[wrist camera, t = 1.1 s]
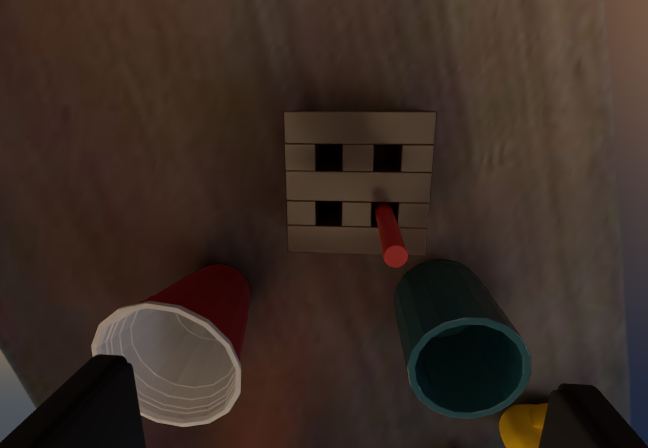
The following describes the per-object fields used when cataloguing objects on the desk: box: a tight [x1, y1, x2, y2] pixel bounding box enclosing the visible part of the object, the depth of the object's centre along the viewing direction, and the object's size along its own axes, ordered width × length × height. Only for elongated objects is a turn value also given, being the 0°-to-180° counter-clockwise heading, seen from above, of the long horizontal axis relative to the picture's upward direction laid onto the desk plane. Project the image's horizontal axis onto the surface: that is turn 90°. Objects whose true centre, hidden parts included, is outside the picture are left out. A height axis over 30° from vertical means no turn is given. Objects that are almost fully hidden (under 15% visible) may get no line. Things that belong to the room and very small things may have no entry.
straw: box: [373, 202, 408, 267], centre depth 26 cm, size 1×1×14 cm
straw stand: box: [283, 111, 437, 256], centre depth 30 cm, size 10×10×6 cm
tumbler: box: [394, 260, 531, 419], centre depth 31 cm, size 8×8×10 cm
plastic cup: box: [91, 264, 251, 427], centre depth 31 cm, size 11×11×12 cm
